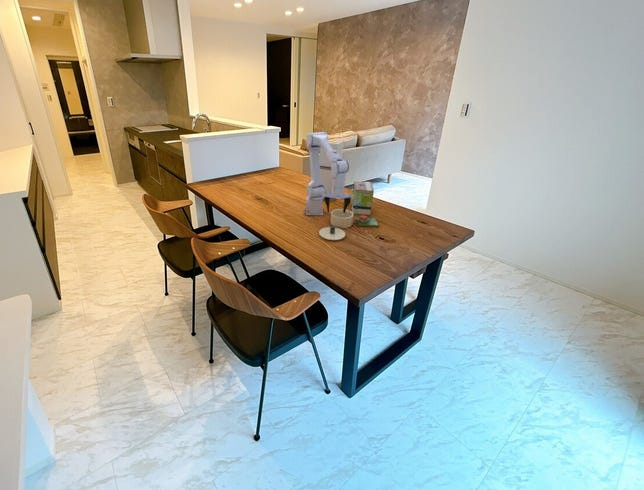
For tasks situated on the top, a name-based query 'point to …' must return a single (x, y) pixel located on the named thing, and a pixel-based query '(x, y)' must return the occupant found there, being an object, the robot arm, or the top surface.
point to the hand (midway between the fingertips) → (336, 212)
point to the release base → (366, 222)
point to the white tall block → (329, 166)
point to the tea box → (362, 198)
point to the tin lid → (332, 233)
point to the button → (363, 217)
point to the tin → (341, 218)
